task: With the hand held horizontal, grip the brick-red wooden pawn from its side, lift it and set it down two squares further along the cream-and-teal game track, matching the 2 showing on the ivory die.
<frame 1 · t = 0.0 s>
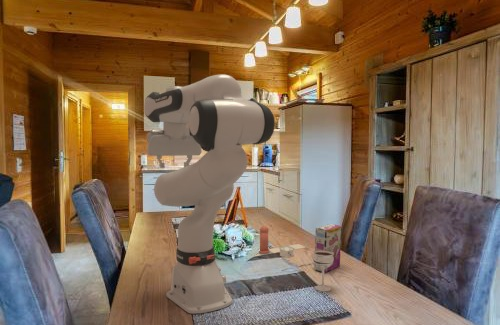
hand: (174, 167, 127), 39 cm above the table, tool pointing down, fingers open, 8 cm apart
pawn: (263, 252, 146), point 1 cm above the table, touching track board
die: (286, 258, 141), on the table
candy bar box: (327, 269, 129), on the table
track board: (275, 252, 149), on the table
wineglass: (322, 288, 111), on the table
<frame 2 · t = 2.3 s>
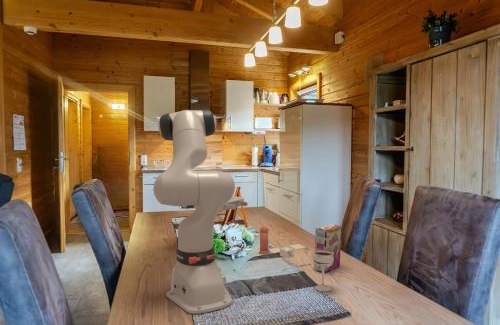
hand: (241, 205, 151), 20 cm above the table, tool horizontal, fingers open, 8 cm apart
nothing on the table moved.
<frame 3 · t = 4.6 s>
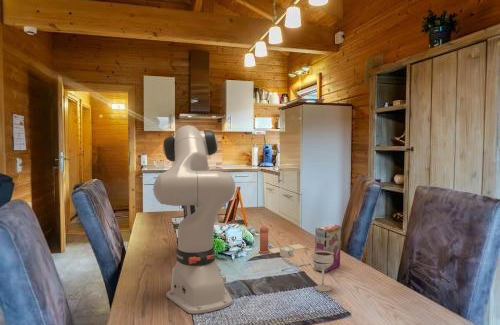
hand: (248, 237, 150), 6 cm above the table, tool horizontal, fingers open, 8 cm apart
nothing on the table moved.
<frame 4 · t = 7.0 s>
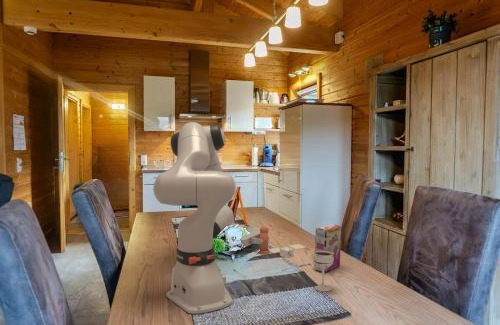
hand: (265, 240, 145), 7 cm above the table, tool horizontal, fingers closed on pawn, 4 cm apart
pawn: (263, 252, 146), point 1 cm above the table, touching gripper, track board
everything else where it was.
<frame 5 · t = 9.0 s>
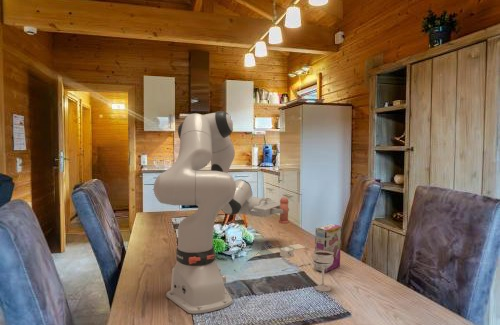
hand: (285, 210, 150), 18 cm above the table, tool horizontal, fingers closed on pawn, 4 cm apart
pawn: (283, 222, 151), point 13 cm above the table, touching gripper
everything else where it was.
when the fingers open (7 cm above the table, at t = 11.5 s): pawn stays where it is, resting on track board.
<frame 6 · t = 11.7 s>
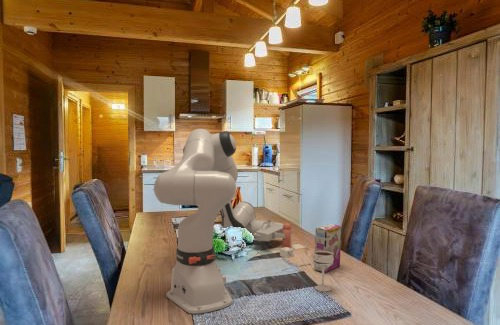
hand: (288, 234, 151), 8 cm above the table, tool horizontal, fingers open, 5 cm apart
pawn: (286, 248, 151), point 1 cm above the table, touching track board
everything else where it was.
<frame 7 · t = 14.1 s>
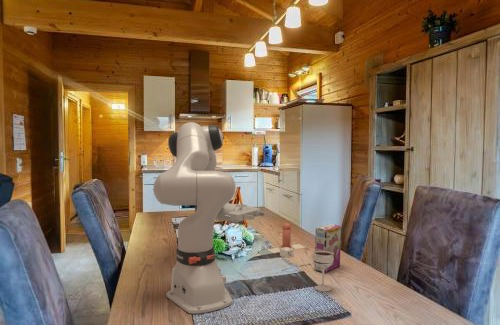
hand: (259, 215, 156), 15 cm above the table, tool horizontal, fingers open, 8 cm apart
nothing on the table moved.
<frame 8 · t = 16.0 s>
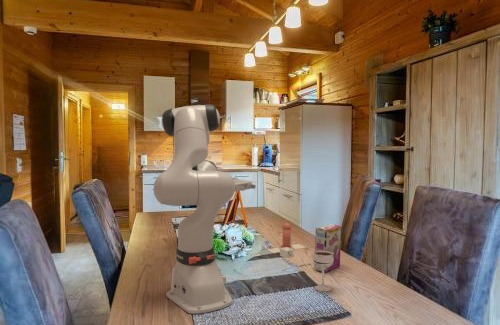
hand: (249, 187, 155), 28 cm above the table, tool horizontal, fingers open, 8 cm apart
nothing on the table moved.
at the end: pawn 0.0 cm from the target spot, point 1.0 cm above the table; pawn tilted 0°; the gripper is holding nothing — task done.
